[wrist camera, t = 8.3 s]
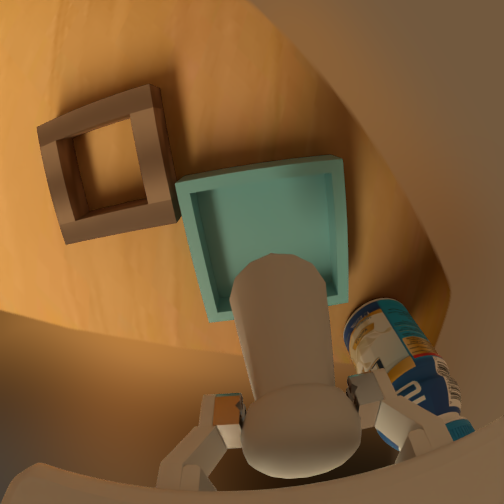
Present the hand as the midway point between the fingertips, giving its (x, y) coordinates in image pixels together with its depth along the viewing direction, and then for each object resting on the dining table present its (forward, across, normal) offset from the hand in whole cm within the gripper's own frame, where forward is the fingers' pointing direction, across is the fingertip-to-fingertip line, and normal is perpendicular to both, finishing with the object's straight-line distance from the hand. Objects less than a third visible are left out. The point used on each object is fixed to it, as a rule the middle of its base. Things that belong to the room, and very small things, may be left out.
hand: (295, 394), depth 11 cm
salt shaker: (+10, 0, 0) cm, 10 cm away
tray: (+18, 0, 0) cm, 18 cm away
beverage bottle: (+19, -11, +13) cm, 25 cm away
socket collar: (+18, +13, -9) cm, 24 cm away
